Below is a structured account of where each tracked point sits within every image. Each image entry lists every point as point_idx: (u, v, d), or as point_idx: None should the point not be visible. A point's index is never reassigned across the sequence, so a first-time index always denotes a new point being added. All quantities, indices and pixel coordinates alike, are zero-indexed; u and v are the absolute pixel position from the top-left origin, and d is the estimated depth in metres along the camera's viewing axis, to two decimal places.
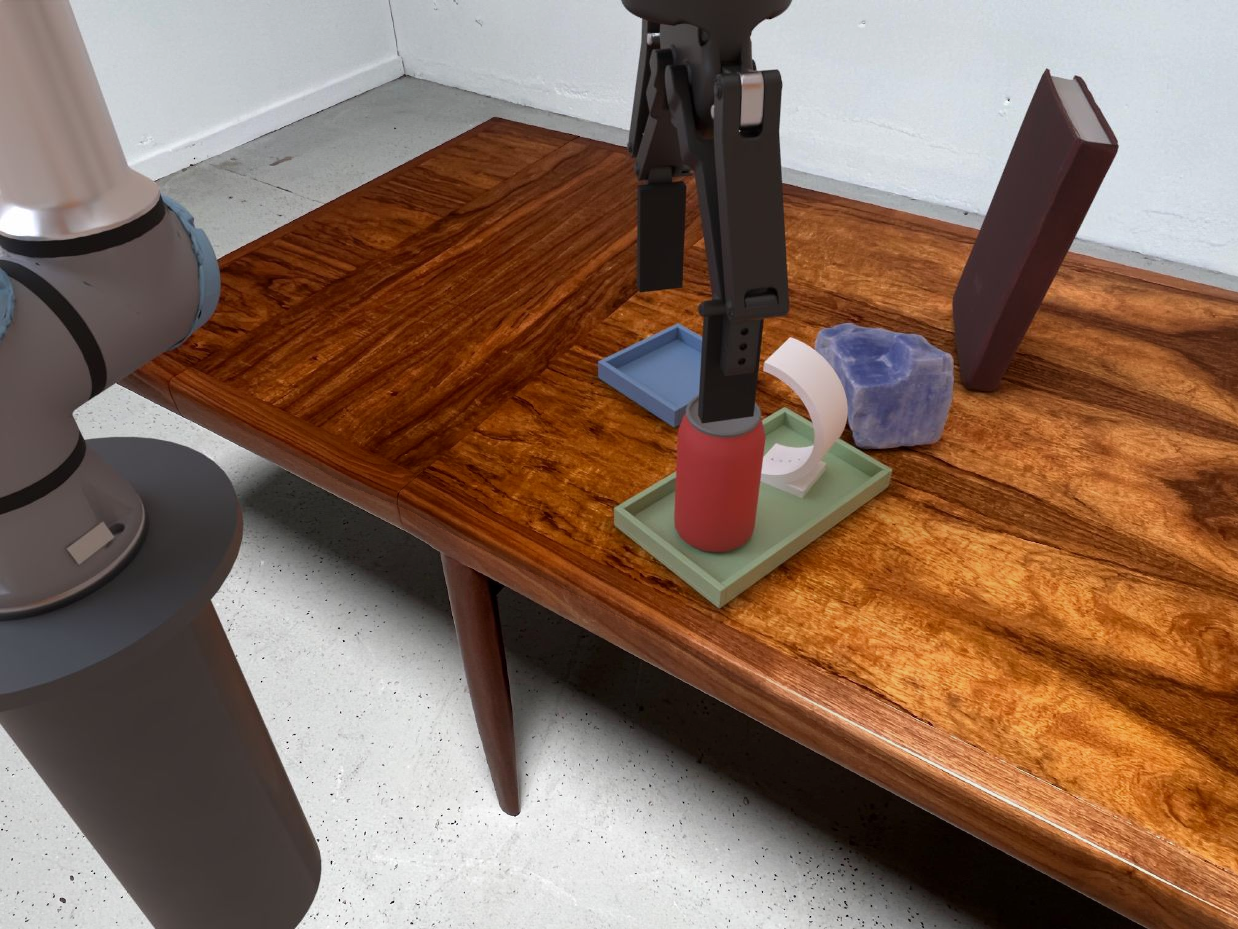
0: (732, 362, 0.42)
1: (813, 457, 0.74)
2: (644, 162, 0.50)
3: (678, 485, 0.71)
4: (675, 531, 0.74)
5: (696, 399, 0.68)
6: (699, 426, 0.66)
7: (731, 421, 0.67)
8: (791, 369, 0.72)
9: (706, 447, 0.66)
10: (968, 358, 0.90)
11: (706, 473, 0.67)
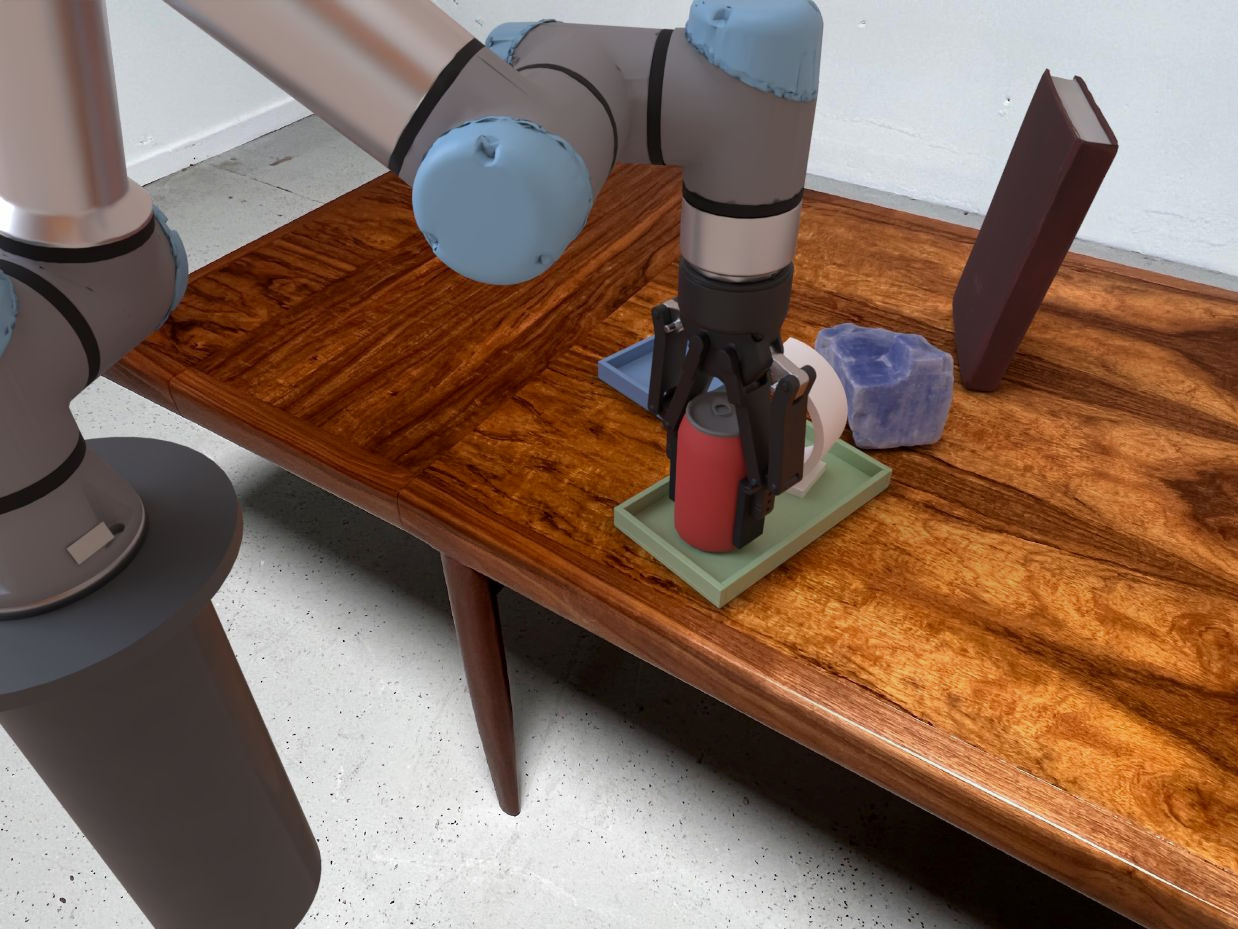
0: (763, 512, 0.68)
1: (813, 457, 0.74)
2: (678, 416, 0.70)
3: (678, 485, 0.71)
4: (675, 531, 0.74)
5: (696, 399, 0.68)
6: (699, 426, 0.66)
7: (731, 421, 0.67)
8: None
9: (706, 447, 0.66)
10: (968, 358, 0.90)
11: (706, 473, 0.67)
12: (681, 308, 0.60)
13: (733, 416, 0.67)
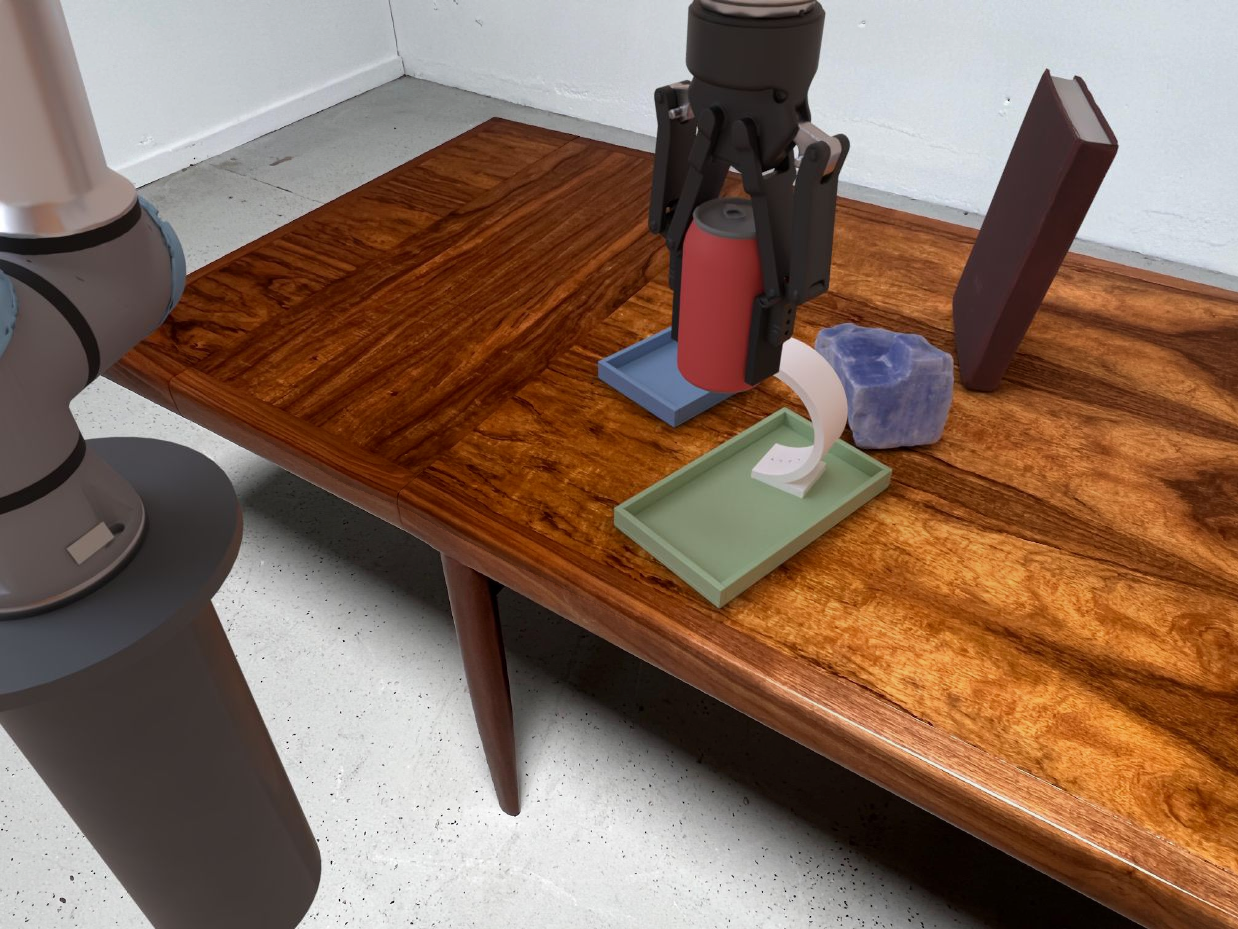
0: (781, 335, 0.58)
1: (813, 458, 0.74)
2: (684, 228, 0.60)
3: (682, 311, 0.61)
4: (675, 531, 0.74)
5: (705, 204, 0.59)
6: (709, 227, 0.56)
7: (746, 225, 0.57)
8: (791, 369, 0.72)
9: (717, 252, 0.56)
10: (968, 358, 0.90)
11: (716, 286, 0.57)
12: (690, 64, 0.51)
13: (748, 221, 0.58)
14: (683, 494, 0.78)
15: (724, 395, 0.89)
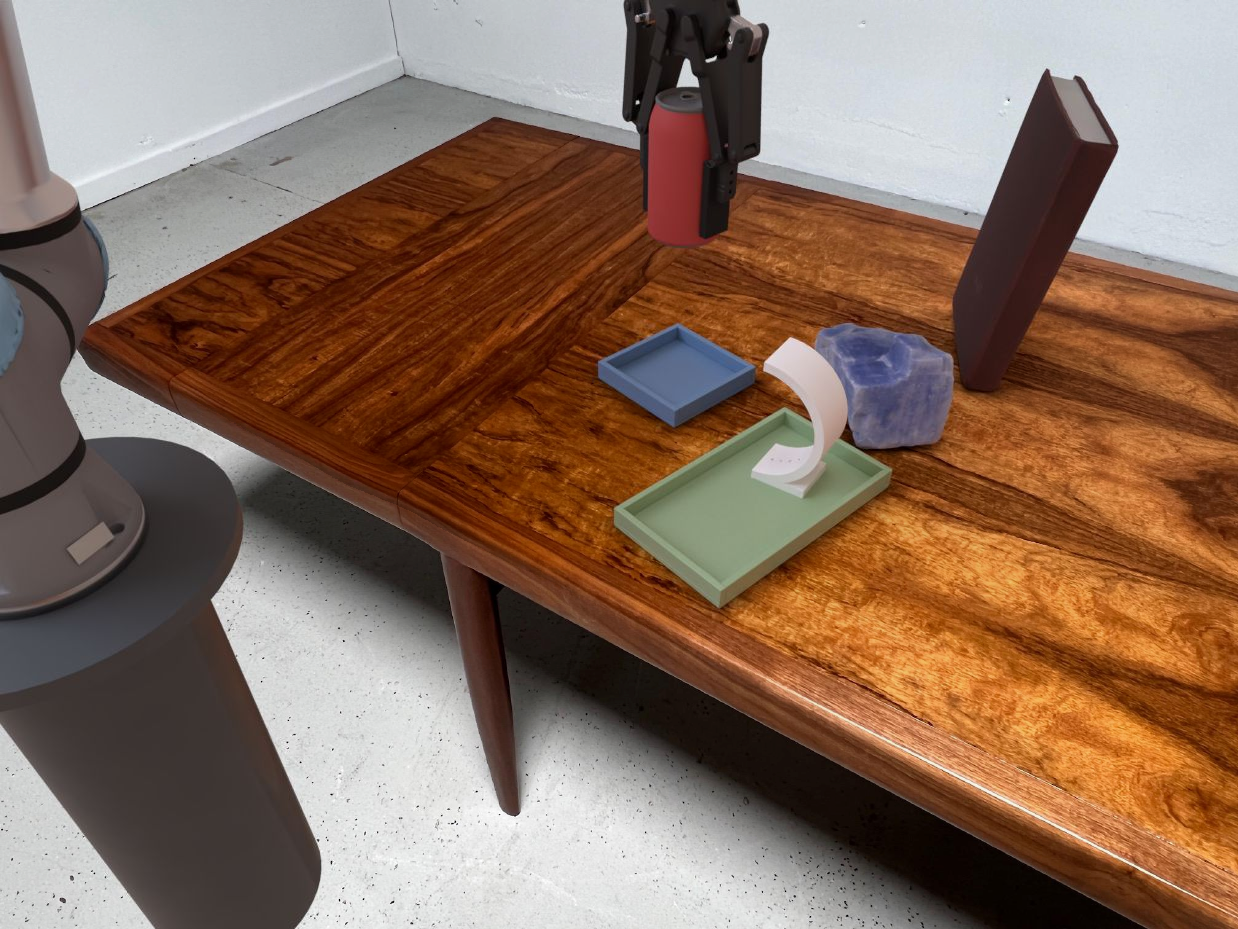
0: (726, 193, 0.74)
1: (813, 458, 0.74)
2: (649, 113, 0.76)
3: (650, 179, 0.77)
4: (675, 531, 0.74)
5: (665, 91, 0.75)
6: (667, 105, 0.72)
7: (696, 104, 0.73)
8: (791, 369, 0.72)
9: (673, 124, 0.72)
10: (968, 358, 0.90)
11: (673, 153, 0.74)
12: None
13: (699, 102, 0.74)
14: (683, 494, 0.78)
15: (724, 395, 0.89)
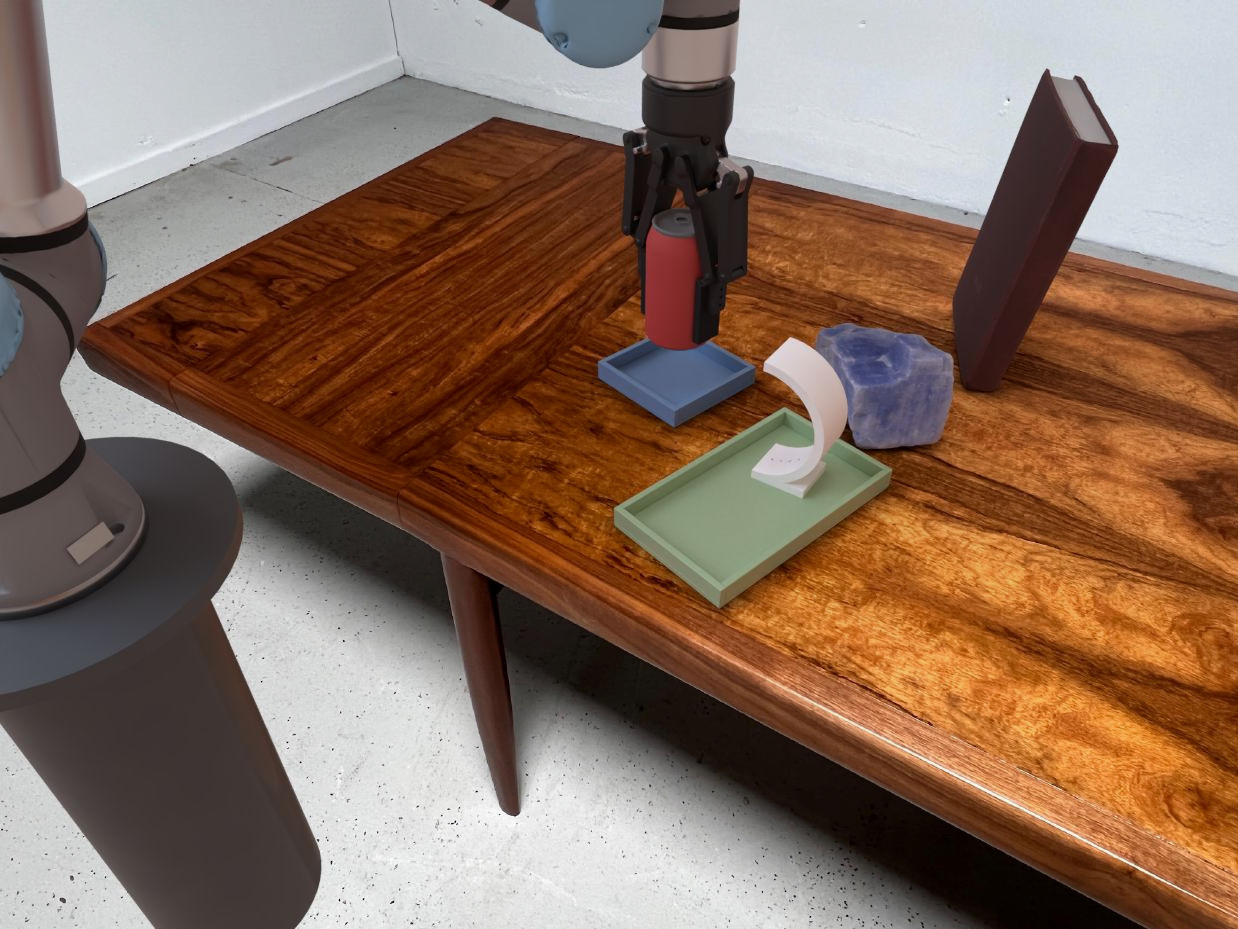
0: (716, 306, 0.82)
1: (813, 458, 0.74)
2: (646, 231, 0.84)
3: (647, 290, 0.85)
4: (675, 531, 0.74)
5: (661, 213, 0.82)
6: (662, 230, 0.80)
7: (689, 228, 0.81)
8: (791, 369, 0.72)
9: (668, 247, 0.80)
10: (968, 358, 0.90)
11: (668, 271, 0.81)
12: (644, 119, 0.74)
13: (691, 225, 0.81)
14: (683, 494, 0.78)
15: (724, 395, 0.89)
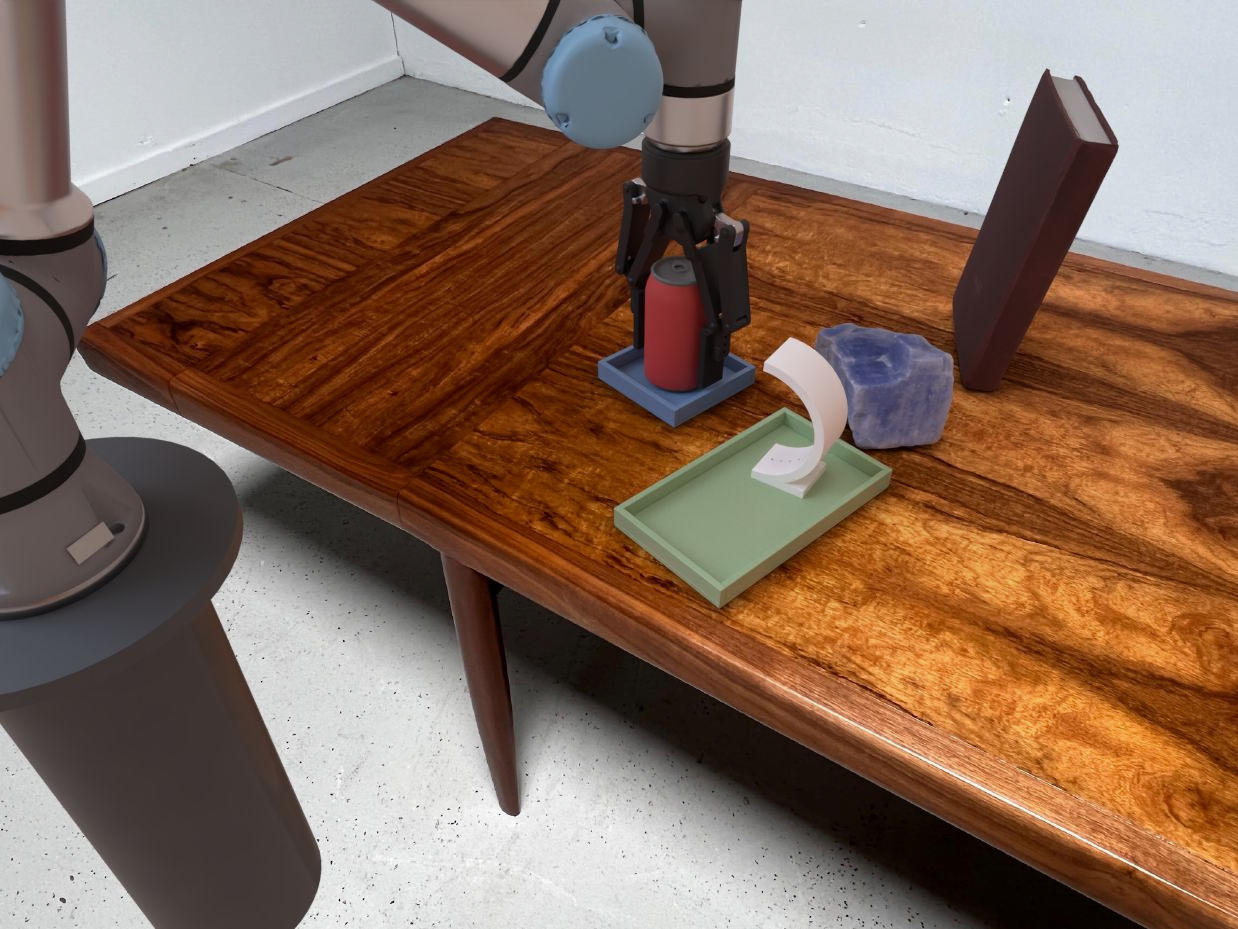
0: (721, 353, 0.84)
1: (813, 457, 0.74)
2: (639, 273, 0.87)
3: (646, 334, 0.88)
4: (675, 531, 0.74)
5: (660, 261, 0.85)
6: (661, 278, 0.83)
7: (687, 276, 0.84)
8: (791, 369, 0.72)
9: (667, 295, 0.83)
10: (968, 358, 0.90)
11: (667, 317, 0.84)
12: (644, 178, 0.77)
13: (689, 273, 0.84)
14: (683, 494, 0.78)
15: (724, 395, 0.89)
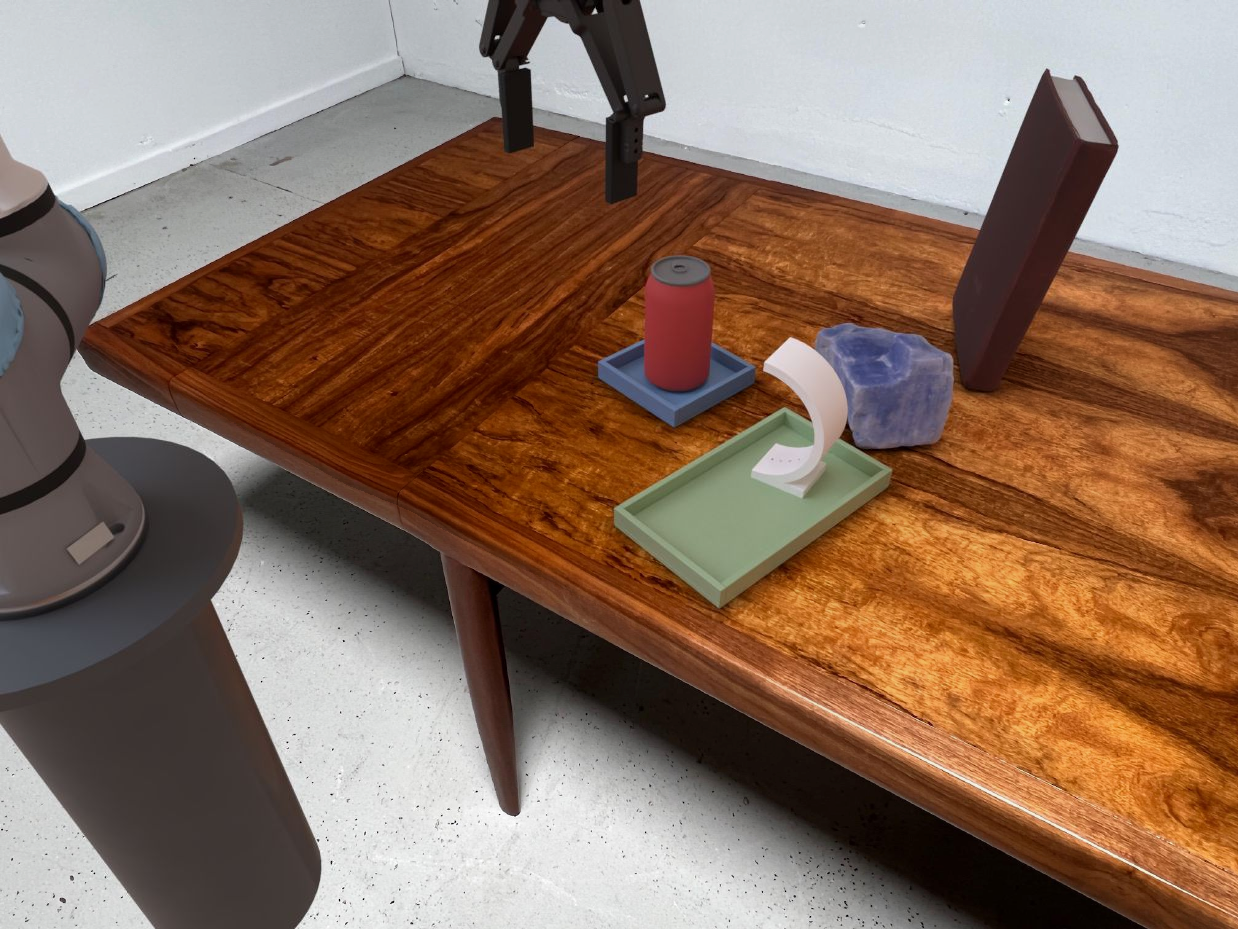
0: (631, 152, 0.68)
1: (813, 458, 0.74)
2: (506, 54, 0.74)
3: (646, 334, 0.88)
4: (675, 531, 0.74)
5: (659, 261, 0.85)
6: (660, 278, 0.83)
7: (686, 276, 0.84)
8: (791, 369, 0.72)
9: (666, 295, 0.83)
10: (968, 358, 0.90)
11: (667, 318, 0.84)
12: None
13: (688, 273, 0.84)
14: (683, 494, 0.78)
15: (724, 395, 0.89)
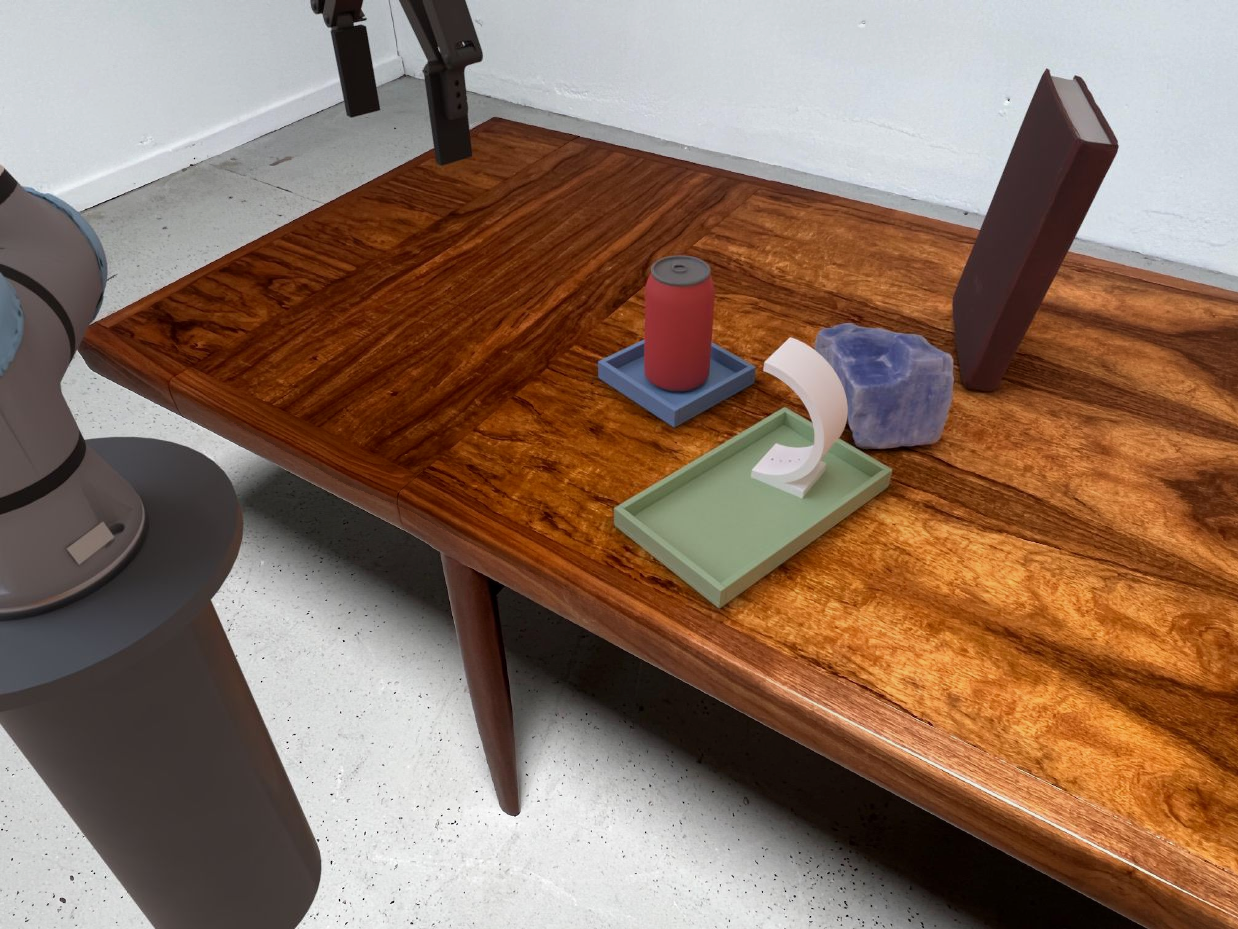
0: (453, 107, 0.63)
1: (813, 458, 0.74)
2: (333, 8, 0.69)
3: (646, 334, 0.88)
4: (675, 531, 0.74)
5: (659, 261, 0.85)
6: (660, 278, 0.83)
7: (686, 276, 0.84)
8: (791, 369, 0.72)
9: (666, 295, 0.83)
10: (968, 358, 0.90)
11: (667, 318, 0.84)
12: None
13: (689, 273, 0.84)
14: (683, 494, 0.78)
15: (724, 395, 0.89)
